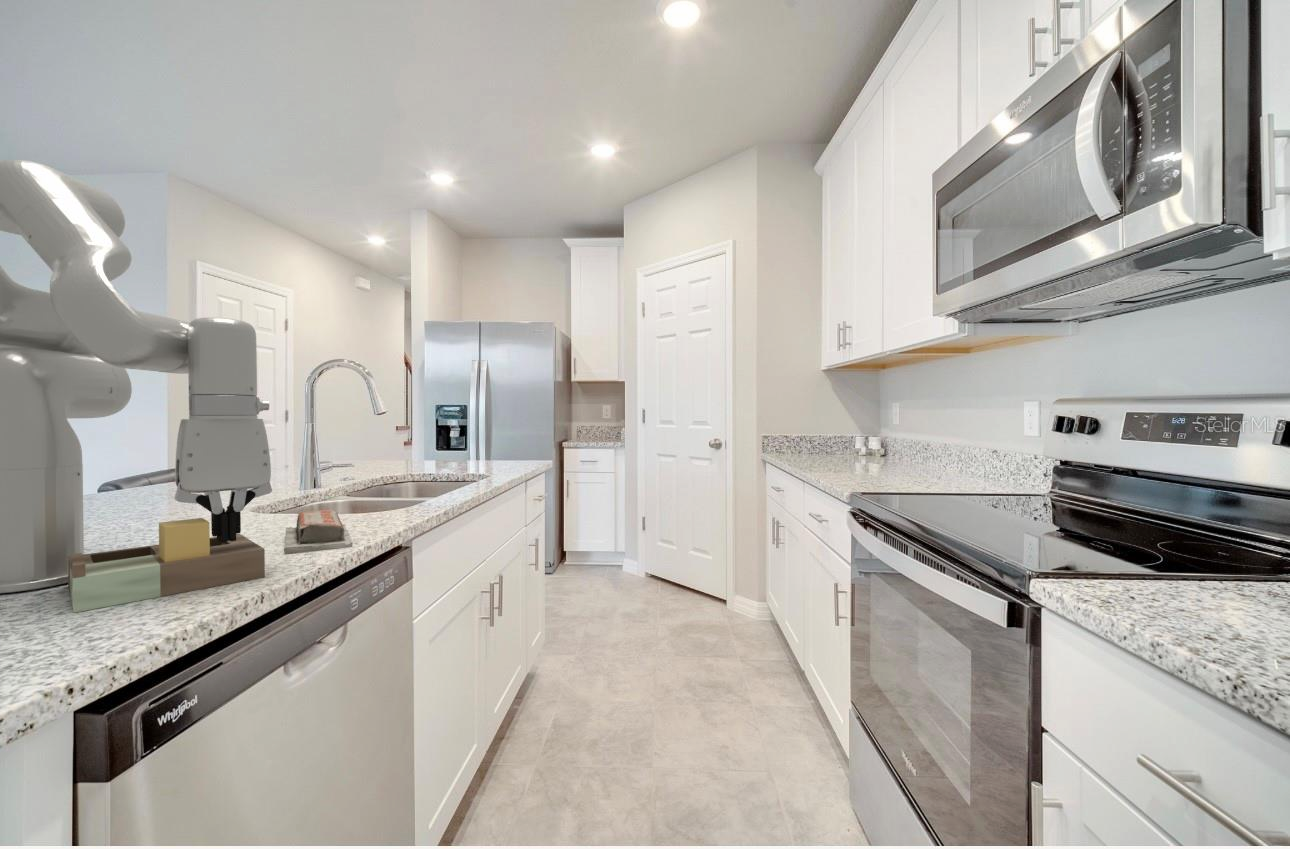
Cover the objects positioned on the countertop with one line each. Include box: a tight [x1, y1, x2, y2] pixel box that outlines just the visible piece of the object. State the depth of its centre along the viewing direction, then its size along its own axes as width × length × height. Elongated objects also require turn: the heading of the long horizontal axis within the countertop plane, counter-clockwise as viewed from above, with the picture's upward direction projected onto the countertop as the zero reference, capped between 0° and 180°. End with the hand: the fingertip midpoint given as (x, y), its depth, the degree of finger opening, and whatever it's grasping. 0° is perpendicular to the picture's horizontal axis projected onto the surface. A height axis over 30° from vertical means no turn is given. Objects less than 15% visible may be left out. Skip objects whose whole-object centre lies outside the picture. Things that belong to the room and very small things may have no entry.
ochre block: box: [158, 517, 211, 563], centre depth 72 cm, size 4×4×4 cm
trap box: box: [67, 533, 266, 614], centre depth 74 cm, size 14×18×6 cm
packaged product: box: [283, 509, 353, 555], centre depth 98 cm, size 18×5×10 cm
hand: (226, 540), depth 75 cm, fingers closed
